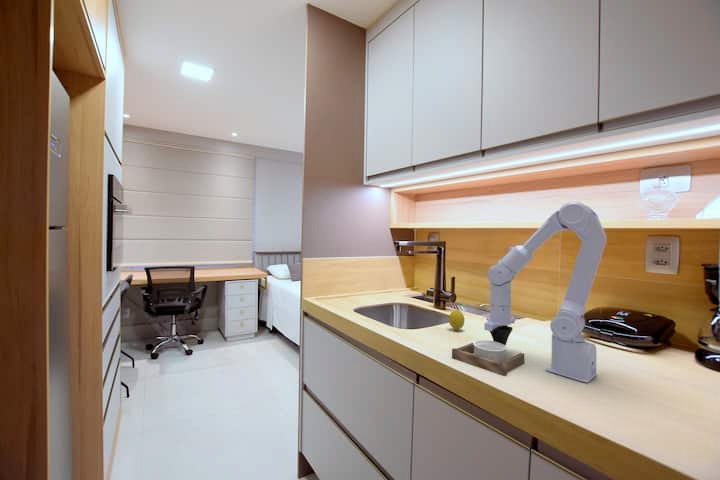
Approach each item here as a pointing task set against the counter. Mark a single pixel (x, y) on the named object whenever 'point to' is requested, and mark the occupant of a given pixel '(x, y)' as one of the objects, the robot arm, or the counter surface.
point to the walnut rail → (487, 360)
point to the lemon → (456, 319)
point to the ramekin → (490, 350)
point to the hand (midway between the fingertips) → (499, 350)
